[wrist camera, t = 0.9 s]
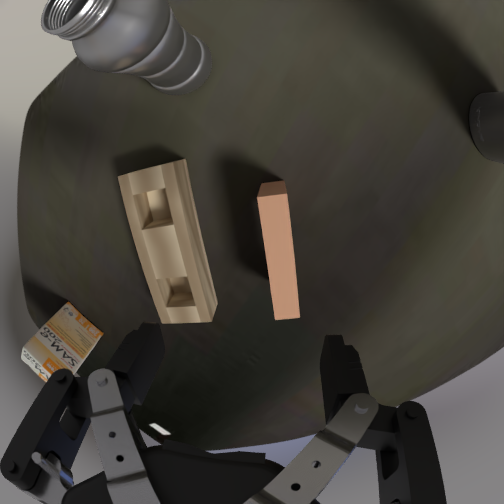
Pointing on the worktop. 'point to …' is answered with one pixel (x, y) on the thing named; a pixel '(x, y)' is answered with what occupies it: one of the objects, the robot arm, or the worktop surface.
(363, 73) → the worktop surface
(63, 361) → the supplement box
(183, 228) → the rail
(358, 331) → the worktop surface
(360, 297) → the worktop surface
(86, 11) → the metal bottle
